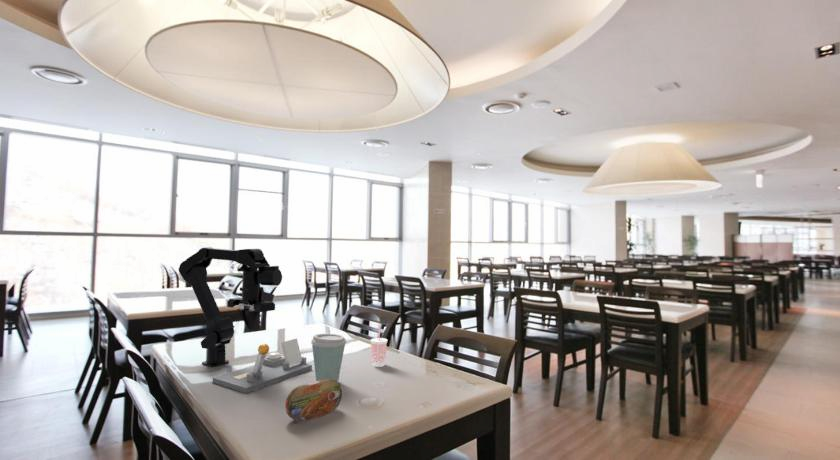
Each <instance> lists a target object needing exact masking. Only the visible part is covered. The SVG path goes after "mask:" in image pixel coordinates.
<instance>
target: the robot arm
mask: <svg viewBox="0 0 840 460" xmlns="http://www.w3.org/2000/svg"><path fill="white" fill-rule="evenodd" d="M212 260H222V261H231V262H232V261H233V262H235V263H237V264H240V265H241V266H240V267H238V268H237V272H242V286H241V287H239V291H241V292H242V293H241V294H242V295H241V296H242V297H240V296H239V297H236V298H235V297H234V298H229V299H228V300H227V303H226V306H227V308H234V307H236V306H238V307H239V308H238V309H237V312H239V314H240V316H241V318H242V320H243V322H244V324H245V325H246V327H247V330H250V331H251V330H253V328H254V325H255V322H256V320H257V317H258V315H260V313H266V312H271V311H272V312H273V311H275V310H276V304H275V302H274V297H275V294H273V293H270V292H266V291H265V290H264V287H263V286H276V287H277V286H279V285H281V283H282V280H283V275H282V271H281V269H280V266H279V265H272V266H271V265H270V264H269V261H268V260H267V259H266V257H265V255H264V252H263V251H262V249H260V248H244V249H227V248H216V247H215V248H214V247H210V246H209V247H202V248H200V249H198V251H197V252H195V253H194V254H192V255H190V256H189V257H188V258H186V259H185V260H184V261H182V262H181V263H180V264H179V267H178V273H179V275H180V276H181V278H182V279H183V281H184V282H186V283H187V284H188V285H190V286H191V288H192V290H193V292H194V294H195V297H196V299H197V301H198V304H199V306H200V308H201V310H202V313H203V315H204V317H205V320H206V327H205V332H206V334H207V335H206V336H205V337H204V338H203V339H202V340H201V341H200V346H201V349H205V350H206V353H205V356H206V357H205V359H206V360H205V361H202V362H201V364H202V365H205V366H209V367H217V366H220V365H223V364H227V363H229V362H230V360H228V359H226V352H227V351H226V345H227V344H228V345H229V344H230V343H231V341H232V338H233V337H234V334H235V329H234V328H235V326H234V324H233V321H232V319H231V317H229V316H228V317H224V316H223V315H222V313H221V311H220V309H219V307H218V304H217V302H216V299H215V298H214V296H213V293H212V290H211V288H210V286H209V284H208V282H207V277H208V270H207V268H208V267H209V266H210V265H211V264H212V262H213V261H212ZM261 285H262V286H261Z"/></svg>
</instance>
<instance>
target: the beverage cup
mask: <svg viewBox="0 0 840 460" xmlns="http://www.w3.org/2000/svg"><path fill="white" fill-rule="evenodd" d="M370 343H371V365H372V367H375V368H376V367H377V368H380V367H384V366H385V365H386V356H387V355H386V353H387V343H388V339H387V338H385V337H381V325H378V337H375V338H374V337H373V338H371V339H370Z"/></svg>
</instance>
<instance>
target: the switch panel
mask: <svg viewBox="0 0 840 460" xmlns="http://www.w3.org/2000/svg"><path fill="white" fill-rule="evenodd" d="M301 357H302V361H301V362H298V363H295V364H292V365H289V363H287V362H285V358H284V356H281V355H280V359H278V360H274V361H272V360H269V356H268V357H267V356H266V357H265V359H264V363H263V366H262V369H261V372H260V375H259V378H256V379H254V374H252V372H253V369H254V366H255V364H254V365H251V366H246V367H244V368H239V369H237V370H234V371H233V370H232V371H230V372H226V373H224V374H220V375H217V376H213V377H212V384H216V385H218V386H222V387H225V388H228V389H231V390H235V391H237V392H240V393H243V394H247V393H251V392H252V391H256V390H259V389H262V388H265V387H267V386H269V385H272V384H275V383H278V382H280V381H281V382H282V381H283V380H287V379H289V378H291V377H294V376H297V375H301V374H303V373H306V372H308V371H311V370H313V365H312V364H310V363H307V357H306V356H301Z"/></svg>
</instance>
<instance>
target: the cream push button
mask: <svg viewBox="0 0 840 460" xmlns="http://www.w3.org/2000/svg"><path fill="white" fill-rule="evenodd" d="M280 356H281V353H280V352H270V353H268V357H269V360H272V361H274V360H278V359H280Z"/></svg>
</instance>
